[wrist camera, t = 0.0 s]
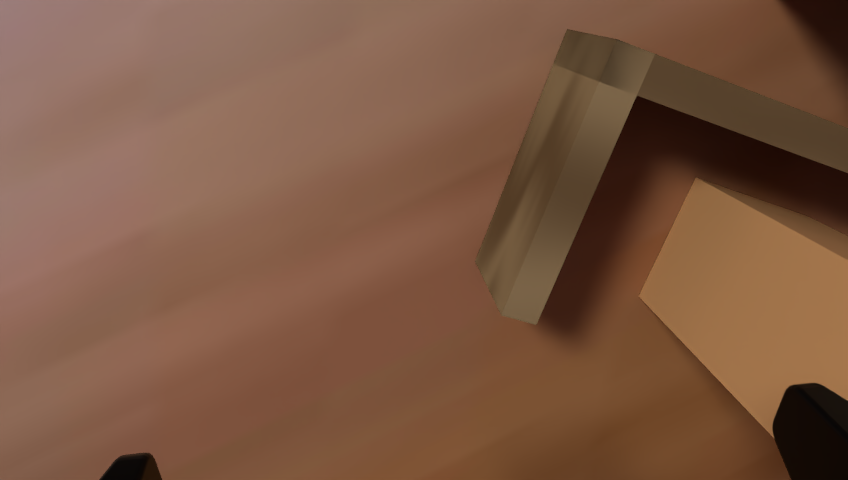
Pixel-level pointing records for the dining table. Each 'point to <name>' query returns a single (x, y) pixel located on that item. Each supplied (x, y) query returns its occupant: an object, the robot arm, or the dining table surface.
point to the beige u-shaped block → (593, 144)
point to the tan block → (754, 295)
